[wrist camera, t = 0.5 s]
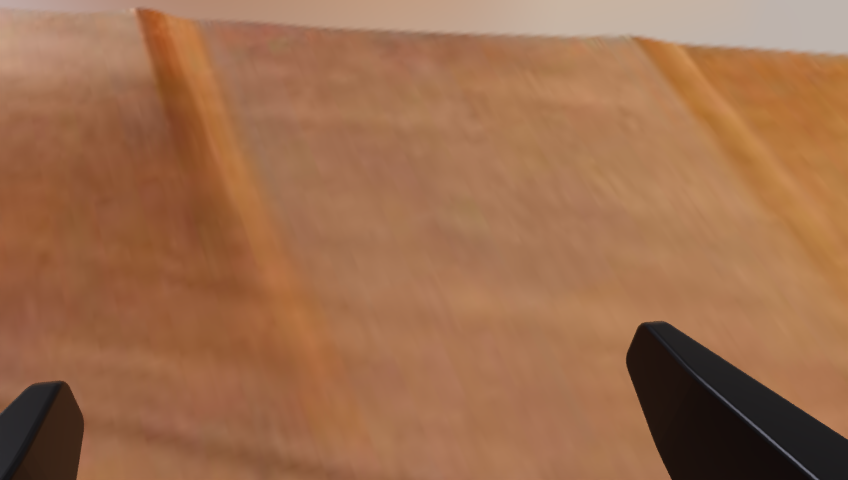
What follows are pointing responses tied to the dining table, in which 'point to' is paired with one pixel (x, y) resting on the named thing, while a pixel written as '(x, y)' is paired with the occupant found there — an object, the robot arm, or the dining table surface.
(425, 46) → the dining table surface
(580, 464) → the dining table surface
